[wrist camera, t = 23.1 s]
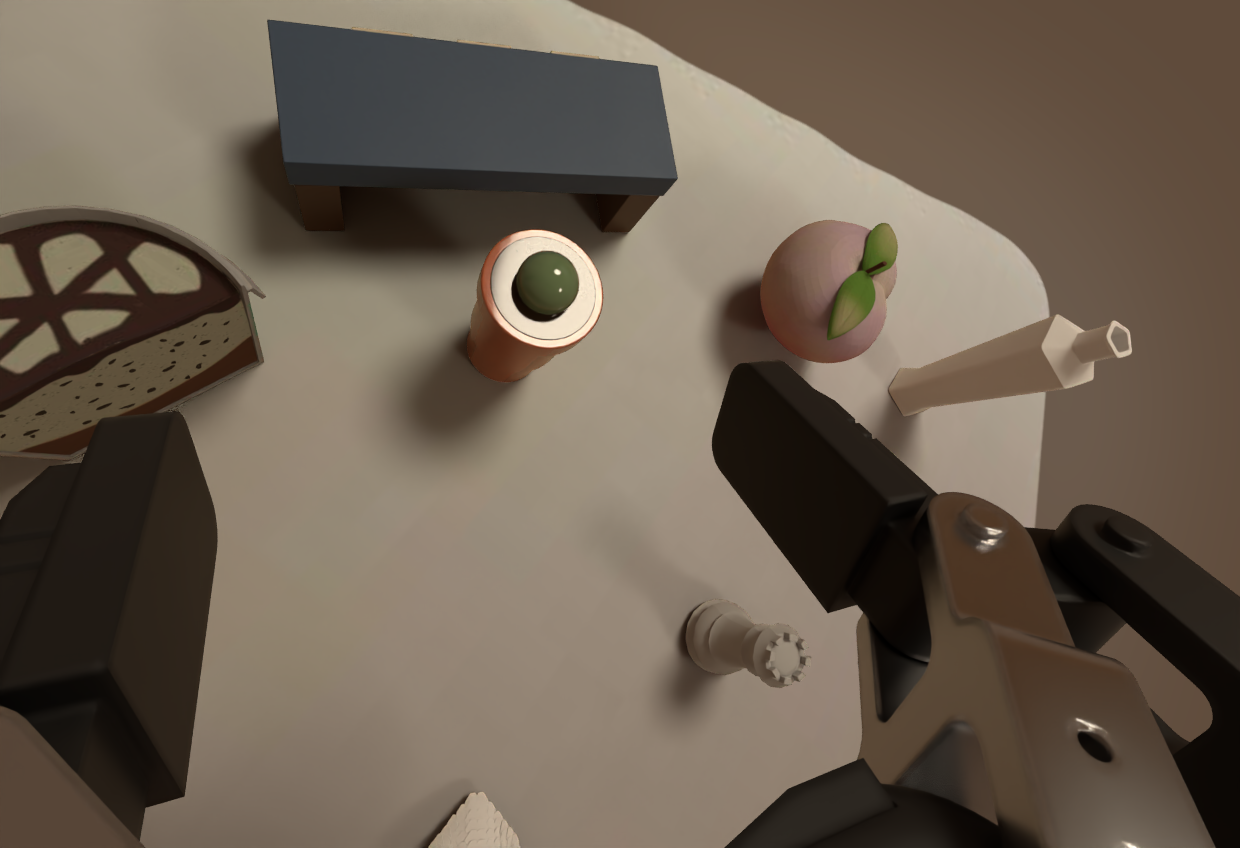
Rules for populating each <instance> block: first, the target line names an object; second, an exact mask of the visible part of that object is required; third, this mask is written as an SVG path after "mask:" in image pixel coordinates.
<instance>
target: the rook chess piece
mask: <svg viewBox="0 0 1240 848" xmlns="http://www.w3.org/2000/svg"><path fill="white" fill-rule="evenodd" d="M686 643H687V648H688V653H689V654H690V656H691V657H692V659H693V661H694V662H695V664H696V665H698V666H699V667H701V668H702V669H704V670H705V671H709V672H713V673H716V674H724V675H727V674H731V673H734V672H737V671H740V670H741V669H743V668H747V669H748V671H749V672H751V673H752V674H754V675H755V676H759V677H760V678H761V680H762V681H763V682H765V683H766V684H767V685H769V686H770V687H777V688H782V687H785V686H788V685H792V683H793V682H794V681H795V680H796V681H798V682H800V681H801V680H802V679H803V678H804V677H805V676H806V675H805V674H804V673H803V672H801V671H802V669H803V667H804V665H805V666H809V667H810V660H811V657H809V656H806V655H805V651H804V650H806V649H807V648H809V647H808V646H807V644H806V642H805V641H804V640H803V639H801V638H800V636H799V635H798V633H797V631H796V630H794V629H793V628H791V627H790V626H789V625H785V624H779V623H777V624H774V625H767V624H759V625H756V624H754V623H753V621H752V620H751V618H750V616H749V615H748V613H747V612H746V611H745V610H743V609H742V608H741V607H739V606H738V605H736V604H735V603H730V602H729V601H726V600H720V599H714V600H710V601H707V602H704V603H703V604H702V605H700V606H699V607H698V608H697V609H696V610H695V611H694V612H693V614H692V616H691V618H690V620H689V622H688V624H687V631H686Z"/></svg>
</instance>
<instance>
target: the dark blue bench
mask: <svg viewBox="0 0 1240 848" xmlns="http://www.w3.org/2000/svg"><path fill="white" fill-rule="evenodd" d="M267 22H268V31H269V40H270V49H271V58H272V66H273V75H274V84H275V93H276V102H277V111H278V120H279V128H280V137H281V146H282V155H283V163H284V166H285V170H286V174H287V178H288V181H289V184H291V185H294V187H295V191H296V195H297V199H298V203H299V207H300V211H301V215H302V219H303V223H304V226H305V230H306V231H344V230H345V228H344V220H343V212H342V203H341V195H340V186H357V187H390V188H423V189H455V190H488V191H521V192H554V193H587V194H596V199H597V205H598V211H599V217H600V223H601V229H602V232H630V230H631V229H632V228H633V227H634V226H635V225H636V223H637V222H638V221H639V220H640V219H641V218H642V216H643V215H644V214H645V213H646V212H647V210H648V209H649V208H650V207H651V206H652V205H653V203H654V202H655V201H656V200H657V199H658V197H659V196H663V195H664V194H665V193H666V192H667V191H668V190H669V188H670V187H671V186H672V185H673V184H674V183H675V181H676V180H677V179H678V177H677V172H676V166H675V161H674V155H673V150H672V144H671V139H670V133H669V128H668V122H667V116H666V111H665V105H664V100H663V94H662V89H661V83H660V78H659V72H658V67H657V66H654V65H646V64H637V63H629V62H621V61H612V60H604V59H599V57H597V56H589V55H580V54H572V53H564V52H555V51H551V52H550V53H545V52H537V51H528V50H520V49H511V46H505V45H497V44H489V43H481V42H472V41H464V40H457V42H452V41H444V40H436V39H427V38H419V37H413V36H412V34H406V33H397V32H389V31H381V30H372V29H364V28H356V27H352V30H351V29H343V28H335V27H326V26H318V25H309V24H301V23H292V22H284V21H276V20H268V21H267Z"/></svg>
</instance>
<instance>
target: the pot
mask: <svg viewBox="0 0 1240 848" xmlns="http://www.w3.org/2000/svg"><path fill="white" fill-rule="evenodd" d="M602 305H603V288H602V283H601V279H600V276H599V273H598V271H597V269H596V267H595V265H594V263H593V262H592V260H591V259H590V257H589V256H588V255H587V253H586V252H585V251H584V250H583V249H582V248H581V247H579V246H578V245H577V244H576V243H575V242H573V241H572V240H570V239H569V238H567V237H565V236H563V235H561V234H558V233H555V232H552V231H548V230H541V229H529V230H522V231H518V232H515V233H513V234H510V235H508V236H506V237H505V238H503V239H502V240H500V241H499V242H498V243H497V244H496V245H495V246H494V247H493V248H492V249H491V251H490V252H489V254H488V256H487V257H486V259H485V262H484V264H483V267H482V269H481V272H480V274H479V278H478V282H477V301H476V304H475V306H474V308H473V311H472V315H471V329H470V331H469V333H468V337H467V352H468V355H469V358H470V360H471V362H472V364H473V365H474V367H475V368H476V369H477V370H478V371H479V372H480V373H481V374H482V375H484V376H485V377H487V378H489V379H491V380H494V381H498V382H514V381H518V380H520V379H522V378H524V377H526V376H527V375H528V374H529V373H530V372H531V371H532V370H535V369H538V368H540V367H542V366H543V365H545V364H546V363H548V362H549V361H550V360H551V359H552V358H553V357H554V356H555V355H557V354H560V353H563V352H566V351H568V350H569V349H571V348H573V347H574V346H575V345H577V344H578V343H579V342H580V341H581V340H582V339H583V338H585V337H586V336H587V335H588V334H589V333H590V332H591V330H592V329H593V328H594V326H595V325H596V323H597V321H598V319H599V316H600V314H601V310H602Z"/></svg>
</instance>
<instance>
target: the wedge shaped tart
mask: <svg viewBox="0 0 1240 848" xmlns="http://www.w3.org/2000/svg"><path fill="white" fill-rule="evenodd" d="M250 291H251V292H253V293H254V294H256V295H257V296H259V297H261V298H262V299H263V298H265V297H266V296H265V295H264V294H263V292H262V291H261V290H260V289H259V288H258V286H257V285H256V284H255V283H254V282H253V281H252V279H251V278H250V277H248V276H247V275H246V274H245V273H244V272H243V271H242V270H241V269H239V268H238V267H237V266H236V265H235V264H234V263H233V262H232V261H230V260H229V259H227V258H226V257H224V256H223V255H221V254H220V253H219V252H217V251H216V250H214V249H213V248H211V247H210V246H208V245H207V244H205V243H204V242H202V241H201V240H199V239H198V238H196V237H194V236H192V235H190V234H188V233H186V232H184V231H182V230H180V229H178V228H176V227H174V226H172V225H169V224H166V223H163V222H160V221H157V220H154V219H151V218H148V217H146V216H142V215H137V214H132V213H128V212H123V211H118V210H113V209H106V208H95V207H84V206H53V207H39V208H33V209H26V210H20V211H13V212H9V213H6V214H2V215H0V456H11V457H26V458H41V459H56V460H71V459H73V458H75V457H77V456H79V455H81V454H83V453H85V452H86V450H87V447H88V445H89V442H90V440H91V437H92V435H93V432H94V430H95V427H96V425H97V423H98V421H99V420H100V419H102V418H104V417H116V416H127V415H139V414H150V413H162V412H165V411H167V410H169V409H171V408H173V407H175V406H177V405H179V404H181V403H183V402H185V401H187V400H189V399H191V398H193V397H195V396H197V395H199V394H201V393H203V392H205V391H207V390H209V389H211V388H213V387H215V386H217V385H219V384H221V383H223V382H225V381H227V380H228V379H230V378H232V377H234V376H236V375H238V374H240V373H242V372H244V371H246V370H248V369H250V368H252V367H254V366H256V365H258V364H260V363H262V362H264V359H263V355H262V351H261V347H260V342H259V338H258V334H257V330H256V326H255V322H254V317H253V313H252V309H251V305H250V301H249V297H248V292H250Z"/></svg>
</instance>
